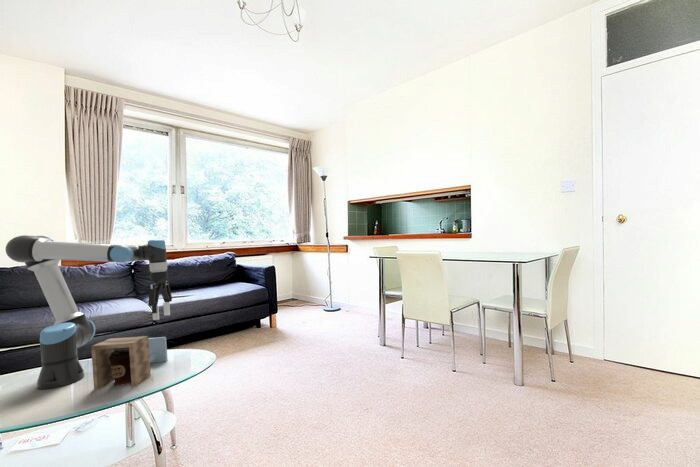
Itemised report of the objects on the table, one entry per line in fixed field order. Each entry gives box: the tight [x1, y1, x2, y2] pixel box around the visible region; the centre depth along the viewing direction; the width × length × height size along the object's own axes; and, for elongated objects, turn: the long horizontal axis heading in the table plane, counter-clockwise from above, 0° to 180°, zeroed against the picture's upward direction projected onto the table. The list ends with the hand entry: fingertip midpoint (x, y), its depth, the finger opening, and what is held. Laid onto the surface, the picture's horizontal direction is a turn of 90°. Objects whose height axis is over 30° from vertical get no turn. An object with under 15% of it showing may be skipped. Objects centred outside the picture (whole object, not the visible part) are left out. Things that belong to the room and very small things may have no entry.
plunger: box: [148, 336, 169, 364], centre depth 151 cm, size 18×11×11 cm, turn 0°
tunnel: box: [91, 335, 152, 390], centre depth 137 cm, size 10×16×17 cm, turn 90°
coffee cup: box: [109, 348, 131, 387], centre depth 137 cm, size 9×8×13 cm
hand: (161, 317), depth 167 cm, fingers open, 9 cm apart
